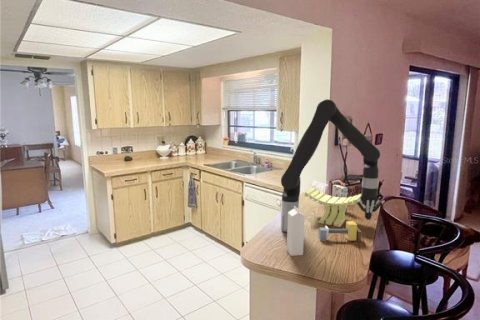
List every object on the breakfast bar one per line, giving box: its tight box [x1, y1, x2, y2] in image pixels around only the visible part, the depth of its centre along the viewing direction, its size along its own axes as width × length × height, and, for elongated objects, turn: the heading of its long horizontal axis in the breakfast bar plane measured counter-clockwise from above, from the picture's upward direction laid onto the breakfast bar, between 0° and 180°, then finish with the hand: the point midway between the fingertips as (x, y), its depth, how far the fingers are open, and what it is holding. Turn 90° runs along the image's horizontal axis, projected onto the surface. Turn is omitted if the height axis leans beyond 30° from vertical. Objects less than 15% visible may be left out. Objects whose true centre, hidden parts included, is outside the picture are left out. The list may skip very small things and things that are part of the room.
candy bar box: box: [331, 184, 349, 213], centre depth 203 cm, size 11×5×16 cm, turn 17°
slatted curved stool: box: [304, 187, 363, 228], centre depth 182 cm, size 30×16×18 cm, turn 58°
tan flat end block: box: [356, 226, 363, 243], centre depth 155 cm, size 2×6×6 cm, turn 178°
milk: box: [286, 206, 305, 257], centre depth 139 cm, size 6×6×22 cm
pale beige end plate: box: [324, 225, 330, 237], centre depth 155 cm, size 1×4×4 cm, turn 178°
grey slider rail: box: [329, 228, 362, 234], centre depth 155 cm, size 20×2×2 cm, turn 88°
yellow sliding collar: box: [345, 220, 358, 242], centre depth 155 cm, size 4×5×8 cm
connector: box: [318, 227, 327, 242], centre depth 156 cm, size 3×4×6 cm
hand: (368, 219), depth 154 cm, fingers closed
